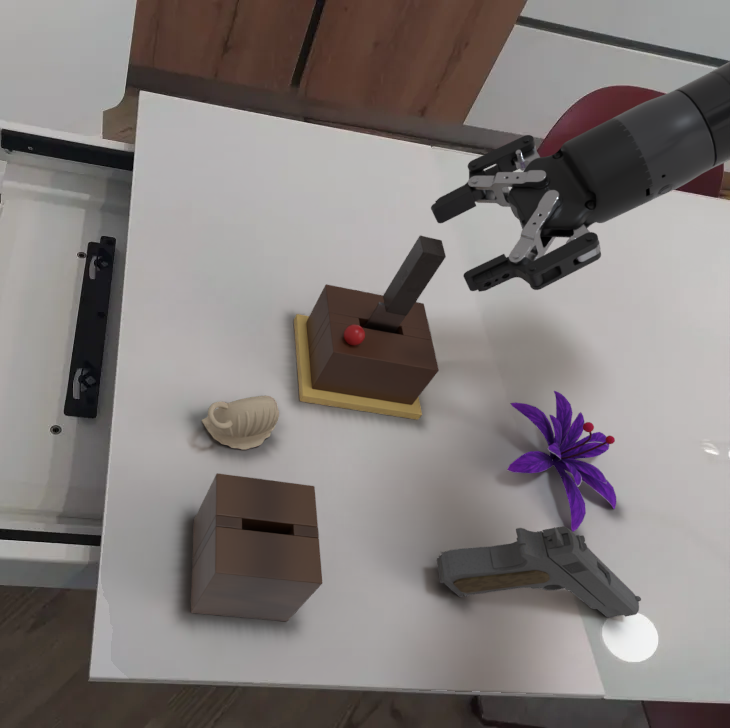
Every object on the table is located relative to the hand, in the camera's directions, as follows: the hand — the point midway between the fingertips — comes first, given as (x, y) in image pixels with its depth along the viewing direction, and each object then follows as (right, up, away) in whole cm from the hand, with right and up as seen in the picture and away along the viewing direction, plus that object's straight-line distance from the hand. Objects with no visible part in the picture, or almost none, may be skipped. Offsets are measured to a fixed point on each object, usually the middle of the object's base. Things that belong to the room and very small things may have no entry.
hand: (449, 248), depth 66 cm
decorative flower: (+14, -21, +12) cm, 28 cm away
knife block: (-19, -27, -5) cm, 33 cm away
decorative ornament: (-19, -17, +4) cm, 26 cm away
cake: (-7, -11, +13) cm, 18 cm away
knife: (-6, -10, +12) cm, 17 cm away
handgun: (+7, -31, +1) cm, 32 cm away
